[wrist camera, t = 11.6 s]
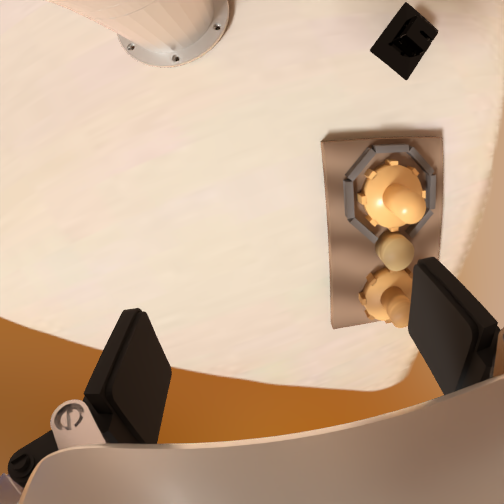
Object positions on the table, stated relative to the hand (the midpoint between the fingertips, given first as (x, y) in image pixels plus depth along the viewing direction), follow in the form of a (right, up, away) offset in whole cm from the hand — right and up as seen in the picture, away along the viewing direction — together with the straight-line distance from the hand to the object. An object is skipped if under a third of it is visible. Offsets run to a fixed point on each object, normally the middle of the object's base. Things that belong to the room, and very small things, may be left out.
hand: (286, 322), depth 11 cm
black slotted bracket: (+17, +27, +18) cm, 37 cm away
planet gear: (+15, +9, +24) cm, 29 cm away
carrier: (+15, +4, +28) cm, 32 cm away
